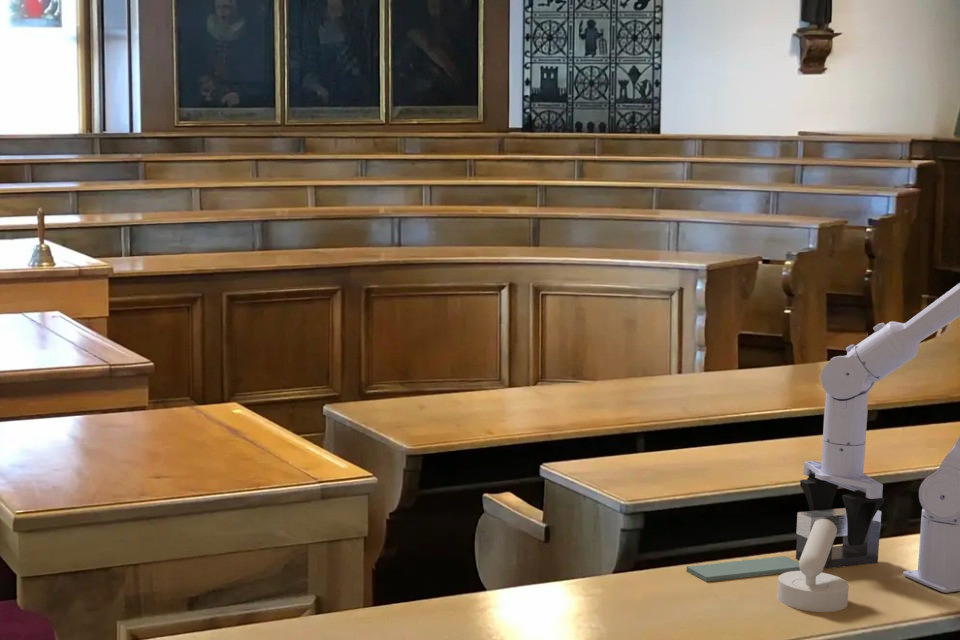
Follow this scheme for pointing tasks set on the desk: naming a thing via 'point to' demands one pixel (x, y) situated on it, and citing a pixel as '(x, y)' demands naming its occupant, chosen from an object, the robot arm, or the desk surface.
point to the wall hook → (814, 575)
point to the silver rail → (834, 515)
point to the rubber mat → (744, 568)
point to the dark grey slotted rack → (849, 550)
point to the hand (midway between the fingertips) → (838, 537)
